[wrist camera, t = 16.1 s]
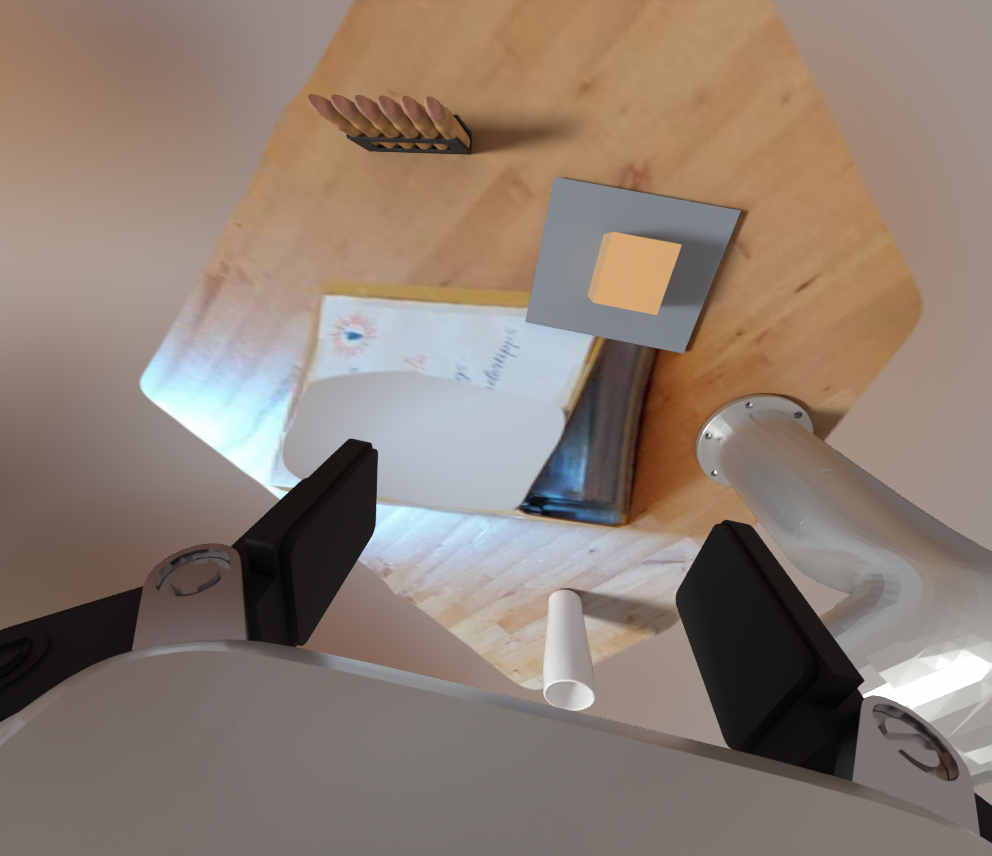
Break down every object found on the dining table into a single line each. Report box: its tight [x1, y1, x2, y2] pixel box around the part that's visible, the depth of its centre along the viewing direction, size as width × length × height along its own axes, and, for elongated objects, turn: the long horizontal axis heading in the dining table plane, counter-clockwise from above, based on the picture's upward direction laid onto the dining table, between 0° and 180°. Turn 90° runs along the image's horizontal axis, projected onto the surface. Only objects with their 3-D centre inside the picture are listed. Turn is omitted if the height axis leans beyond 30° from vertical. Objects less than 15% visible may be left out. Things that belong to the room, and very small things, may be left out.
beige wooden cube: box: [588, 232, 682, 315], centre depth 36 cm, size 6×6×6 cm
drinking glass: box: [543, 589, 595, 711], centre depth 55 cm, size 7×7×15 cm
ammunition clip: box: [307, 94, 471, 155], centre depth 32 cm, size 11×2×12 cm, turn 87°
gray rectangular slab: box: [526, 177, 741, 353], centre depth 38 cm, size 18×14×4 cm
